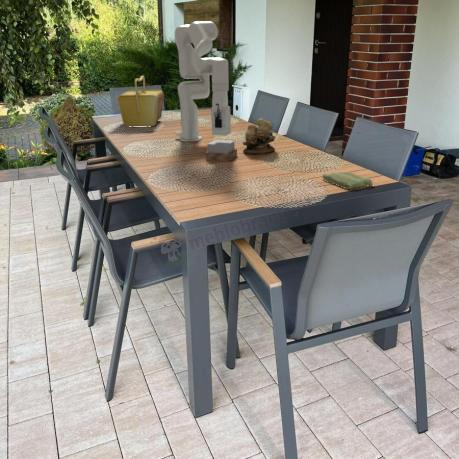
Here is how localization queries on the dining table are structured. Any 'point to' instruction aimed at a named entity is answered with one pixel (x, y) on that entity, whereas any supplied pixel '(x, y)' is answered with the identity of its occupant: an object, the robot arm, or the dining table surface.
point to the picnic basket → (140, 106)
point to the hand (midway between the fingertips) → (221, 125)
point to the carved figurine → (259, 138)
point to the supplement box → (225, 122)
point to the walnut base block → (221, 156)
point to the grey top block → (221, 146)
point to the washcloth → (347, 180)
